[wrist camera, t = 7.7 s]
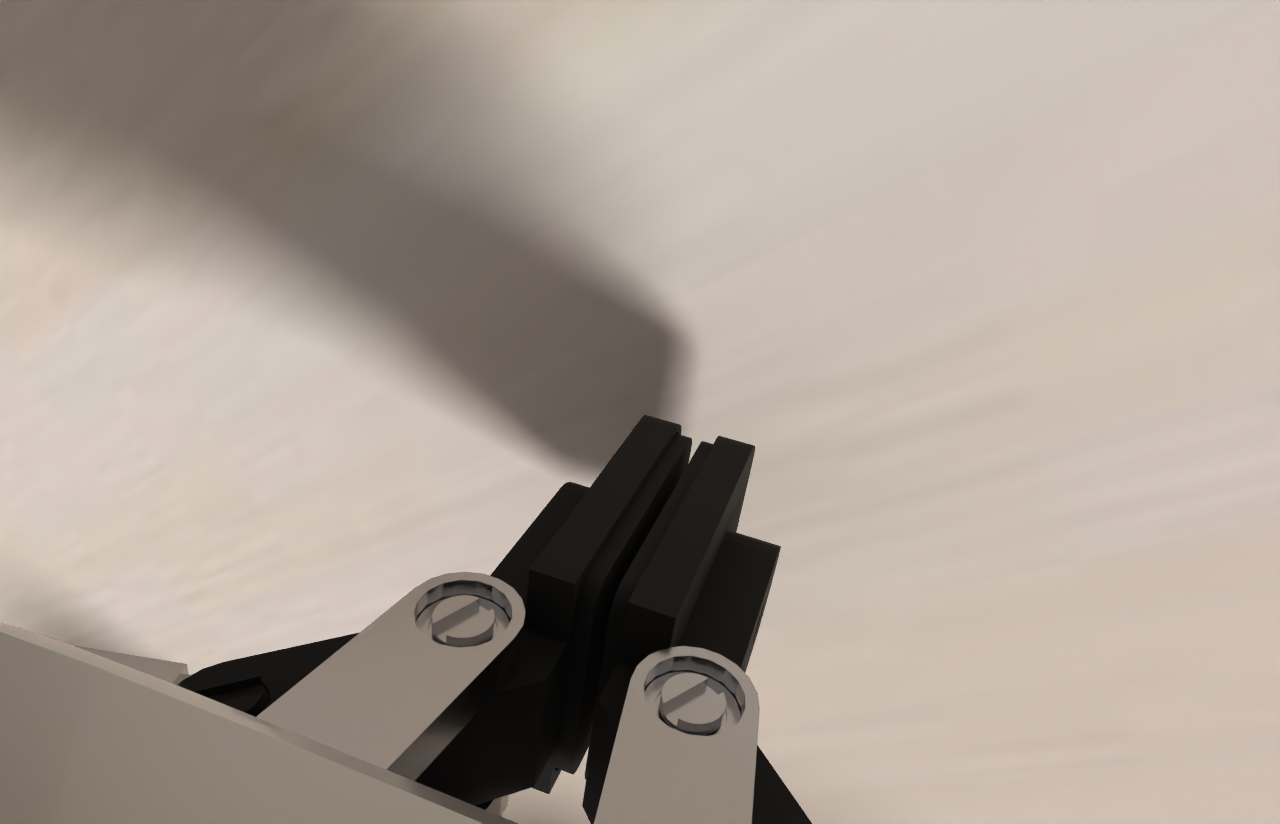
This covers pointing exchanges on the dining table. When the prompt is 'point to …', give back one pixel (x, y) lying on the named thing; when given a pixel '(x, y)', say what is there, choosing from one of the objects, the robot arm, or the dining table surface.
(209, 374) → the dining table surface
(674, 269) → the dining table surface
